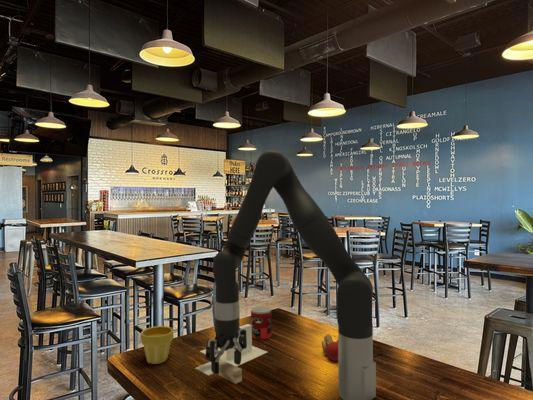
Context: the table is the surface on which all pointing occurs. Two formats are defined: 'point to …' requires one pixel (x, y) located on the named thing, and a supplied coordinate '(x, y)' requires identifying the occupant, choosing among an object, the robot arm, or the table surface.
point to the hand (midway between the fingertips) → (226, 368)
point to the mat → (244, 357)
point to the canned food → (261, 322)
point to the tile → (249, 342)
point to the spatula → (223, 371)
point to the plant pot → (157, 343)
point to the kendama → (330, 348)
